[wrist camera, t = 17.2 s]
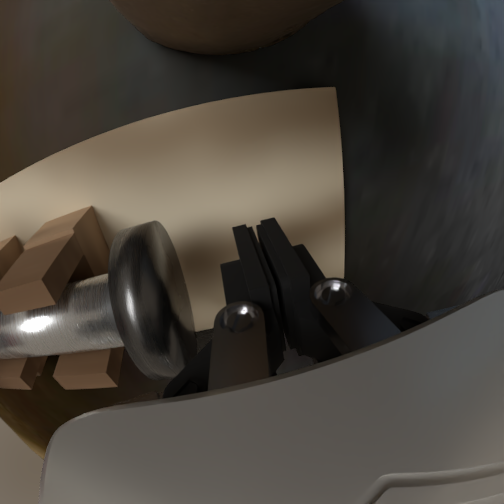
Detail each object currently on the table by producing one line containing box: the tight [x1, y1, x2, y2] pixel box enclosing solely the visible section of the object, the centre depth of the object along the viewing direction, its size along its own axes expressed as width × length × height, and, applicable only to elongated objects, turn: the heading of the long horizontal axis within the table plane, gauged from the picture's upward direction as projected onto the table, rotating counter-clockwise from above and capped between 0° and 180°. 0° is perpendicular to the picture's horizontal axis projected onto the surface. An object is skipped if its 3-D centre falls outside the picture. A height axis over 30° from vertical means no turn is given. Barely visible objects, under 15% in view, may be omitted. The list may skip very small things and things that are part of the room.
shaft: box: [0, 220, 197, 380], centre depth 9 cm, size 6×13×6 cm, turn 99°
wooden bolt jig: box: [0, 87, 345, 389], centre depth 11 cm, size 12×31×6 cm, turn 99°
